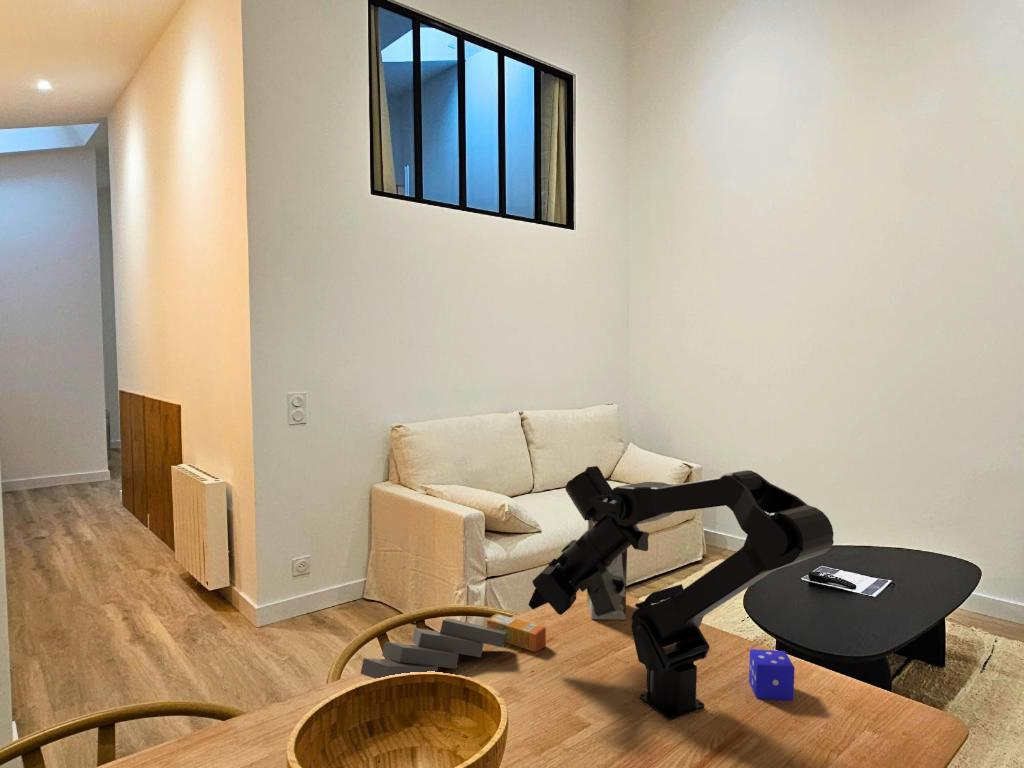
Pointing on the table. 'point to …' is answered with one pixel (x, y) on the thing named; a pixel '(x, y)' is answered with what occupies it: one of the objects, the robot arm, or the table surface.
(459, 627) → the domino
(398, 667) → the domino
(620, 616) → the coffee box
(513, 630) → the supplement box
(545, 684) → the table surface
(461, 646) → the domino
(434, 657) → the domino
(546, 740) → the table surface
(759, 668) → the die
